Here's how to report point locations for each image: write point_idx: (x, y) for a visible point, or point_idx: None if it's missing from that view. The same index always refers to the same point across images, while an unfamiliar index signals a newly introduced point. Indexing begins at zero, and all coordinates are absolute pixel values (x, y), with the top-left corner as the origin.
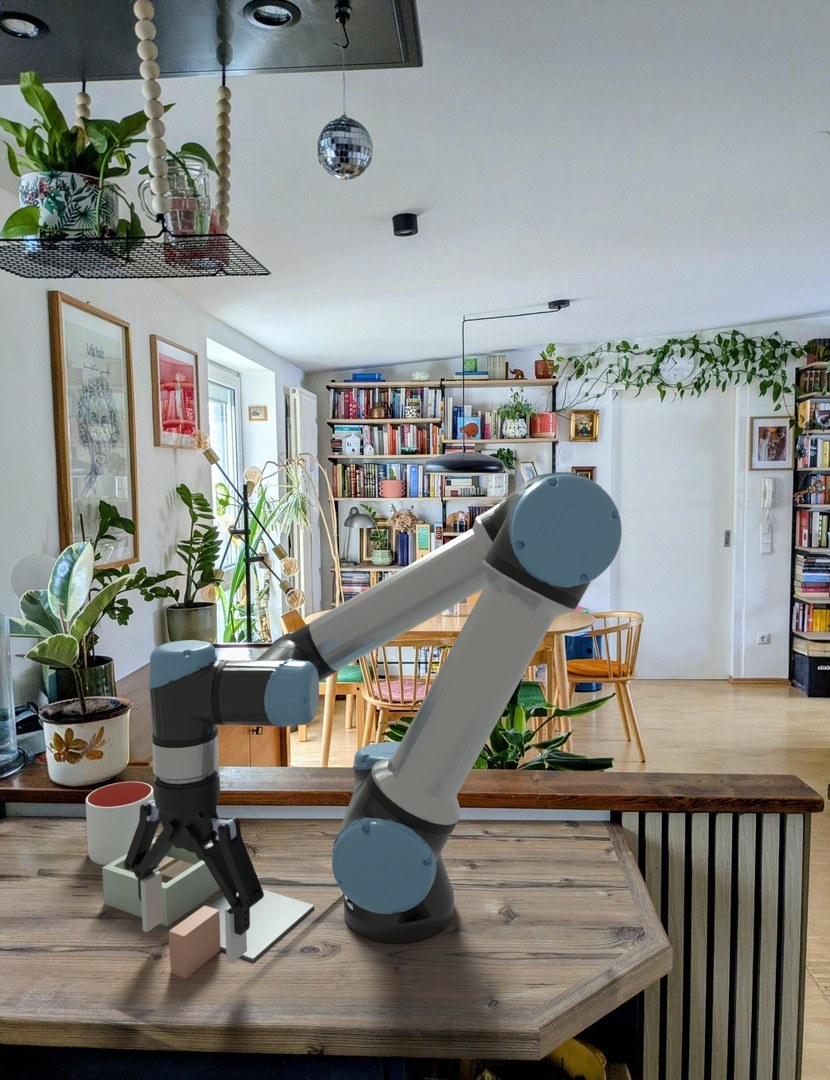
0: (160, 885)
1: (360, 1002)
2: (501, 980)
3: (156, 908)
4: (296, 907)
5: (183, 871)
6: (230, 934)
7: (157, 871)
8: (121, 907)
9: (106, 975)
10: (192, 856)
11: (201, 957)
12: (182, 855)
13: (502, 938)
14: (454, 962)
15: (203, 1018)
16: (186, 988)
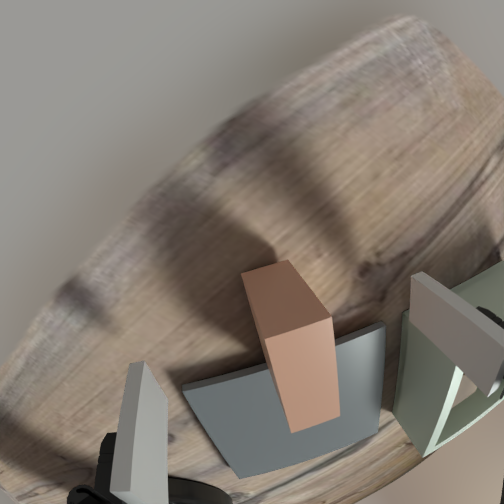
0: (466, 371)
1: (21, 408)
2: (12, 469)
3: (435, 326)
4: (255, 467)
5: (457, 392)
6: (119, 424)
7: (496, 388)
8: (489, 278)
9: (398, 167)
10: (464, 402)
11: (257, 330)
12: (477, 390)
13: (65, 501)
14: (48, 476)
15: (107, 241)
16: (226, 263)
